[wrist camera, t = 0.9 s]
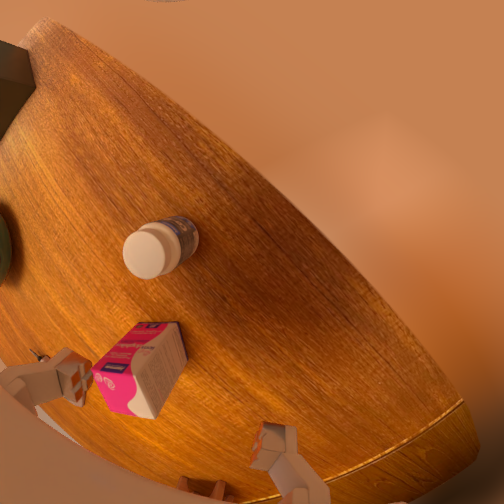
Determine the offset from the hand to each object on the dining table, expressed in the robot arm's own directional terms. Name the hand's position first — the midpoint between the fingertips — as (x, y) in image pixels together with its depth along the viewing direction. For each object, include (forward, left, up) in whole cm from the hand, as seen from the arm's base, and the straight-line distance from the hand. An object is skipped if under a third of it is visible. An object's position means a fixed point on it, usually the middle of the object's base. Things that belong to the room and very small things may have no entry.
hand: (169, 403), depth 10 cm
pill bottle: (+1, -7, -19) cm, 21 cm away
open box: (+5, -51, -19) cm, 55 cm away
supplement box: (+13, -1, -19) cm, 23 cm away
